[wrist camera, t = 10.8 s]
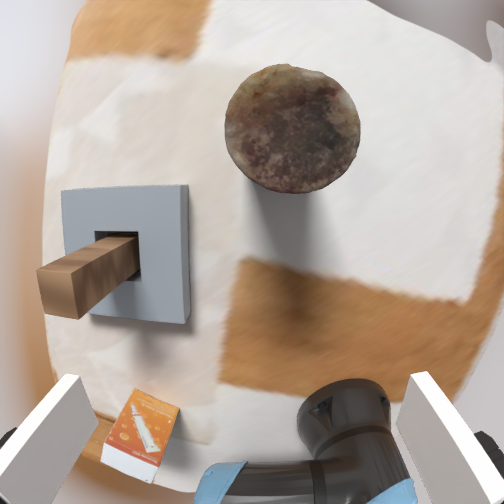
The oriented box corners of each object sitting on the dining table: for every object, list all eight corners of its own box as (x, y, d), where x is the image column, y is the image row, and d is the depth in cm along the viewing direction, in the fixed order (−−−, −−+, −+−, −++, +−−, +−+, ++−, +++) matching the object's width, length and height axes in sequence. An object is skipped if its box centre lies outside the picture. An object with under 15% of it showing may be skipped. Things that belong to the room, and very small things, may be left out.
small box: (180, 407, 42) (160, 468, 30) (170, 428, 44) (151, 485, 31) (133, 386, 42) (103, 442, 29) (127, 409, 43) (99, 462, 31)
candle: (285, 196, 34) (317, 221, 15) (230, 163, 33) (190, 145, 14) (319, 141, 33) (389, 102, 13) (265, 108, 32) (269, 28, 12)
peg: (144, 264, 37) (78, 319, 21) (117, 263, 37) (44, 313, 21) (142, 233, 36) (70, 273, 20) (114, 233, 36) (36, 270, 20)
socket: (190, 311, 38) (184, 323, 35) (86, 301, 38) (74, 311, 35) (188, 184, 34) (180, 185, 31) (75, 189, 35) (60, 190, 31)
